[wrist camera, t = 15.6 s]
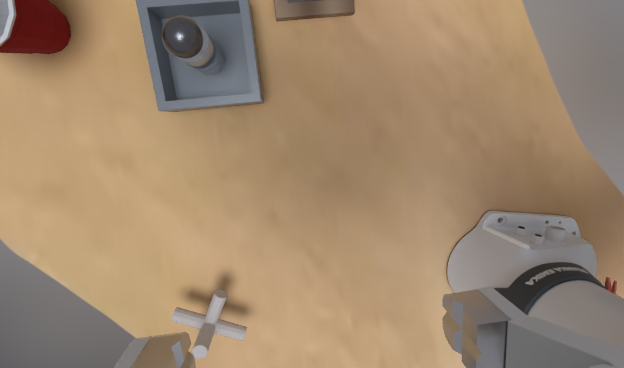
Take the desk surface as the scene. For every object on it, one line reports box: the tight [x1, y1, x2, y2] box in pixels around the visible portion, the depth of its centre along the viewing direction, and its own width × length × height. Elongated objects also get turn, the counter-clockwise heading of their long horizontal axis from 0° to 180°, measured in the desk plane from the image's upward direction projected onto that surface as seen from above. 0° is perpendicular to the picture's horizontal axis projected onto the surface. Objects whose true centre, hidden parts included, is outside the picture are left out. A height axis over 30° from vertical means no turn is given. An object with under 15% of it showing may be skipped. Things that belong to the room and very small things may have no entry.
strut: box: [162, 15, 226, 75], centre depth 32 cm, size 4×4×12 cm
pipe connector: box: [171, 290, 247, 359], centre depth 41 cm, size 10×10×10 cm
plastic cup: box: [0, 0, 70, 54], centre depth 31 cm, size 11×11×12 cm
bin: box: [136, 0, 264, 112], centre depth 36 cm, size 12×12×5 cm
